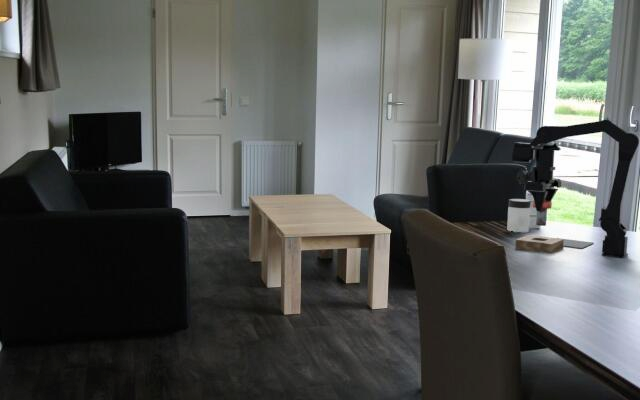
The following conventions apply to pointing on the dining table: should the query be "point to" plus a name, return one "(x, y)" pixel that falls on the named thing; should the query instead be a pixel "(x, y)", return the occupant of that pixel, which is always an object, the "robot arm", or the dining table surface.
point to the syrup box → (532, 211)
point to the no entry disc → (542, 213)
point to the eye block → (539, 243)
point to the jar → (518, 215)
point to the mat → (576, 243)
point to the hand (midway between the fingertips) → (541, 210)
